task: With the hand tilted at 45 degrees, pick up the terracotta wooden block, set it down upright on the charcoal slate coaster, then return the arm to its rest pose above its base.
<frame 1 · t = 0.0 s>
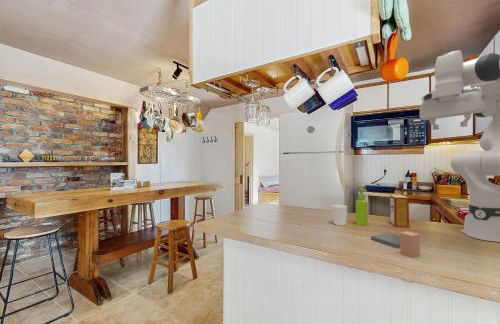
hand: (449, 128, 96), 48 cm above the table, tool pointing down, fingers open, 8 cm apart
slate coaster: (392, 241, 106), on the table
terracotta block: (409, 254, 91), on the table
soap dispenser: (361, 224, 134), on the table
baking soda box: (399, 225, 131), on the table
white cup: (339, 224, 135), on the table
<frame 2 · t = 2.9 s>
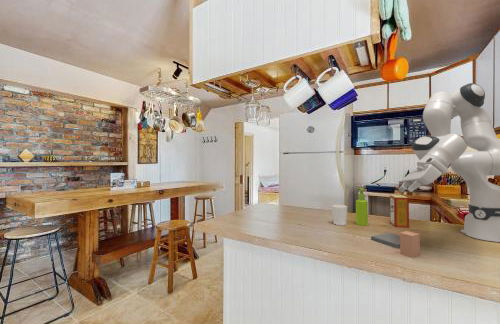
hand: (404, 190, 99), 23 cm above the table, tool tilted 45°, fingers open, 8 cm apart
nothing on the table moved.
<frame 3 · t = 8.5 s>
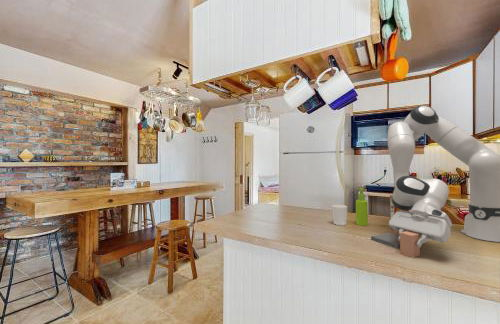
hand: (408, 243, 91), 4 cm above the table, tool tilted 45°, fingers closed on terracotta block, 4 cm apart
terracotta block: (409, 254, 91), on the table, touching gripper
everything else where it was.
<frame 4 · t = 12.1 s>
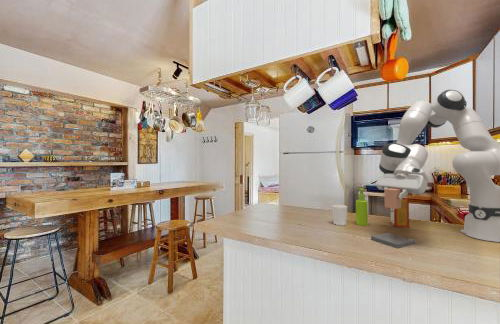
hand: (391, 197, 105), 19 cm above the table, tool tilted 45°, fingers closed on terracotta block, 4 cm apart
terracotta block: (392, 207, 105), point 15 cm above the table, touching gripper
everything else where it was.
when the fingers open (7 cm above the table, at t = 15.8 s): terracotta block drops 2 cm, resting on slate coaster.
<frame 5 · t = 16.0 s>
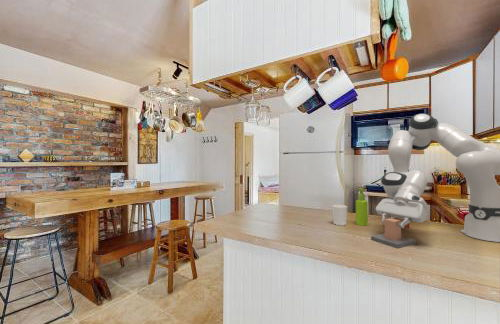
hand: (391, 224, 105), 7 cm above the table, tool tilted 45°, fingers open, 6 cm apart
terracotta block: (392, 238, 105), point 1 cm above the table, touching slate coaster
baking soda box: (399, 225, 131), on the table, touching arm
everything else where it was.
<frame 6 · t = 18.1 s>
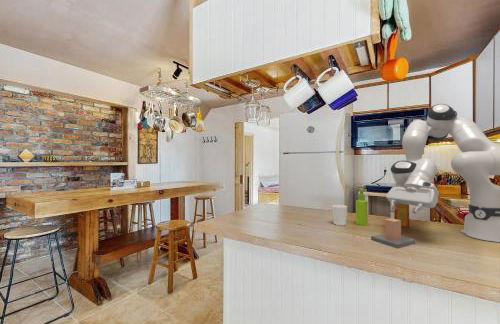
hand: (403, 210, 108), 13 cm above the table, tool tilted 45°, fingers open, 8 cm apart
baking soda box: (399, 225, 131), on the table
everything else where it was.
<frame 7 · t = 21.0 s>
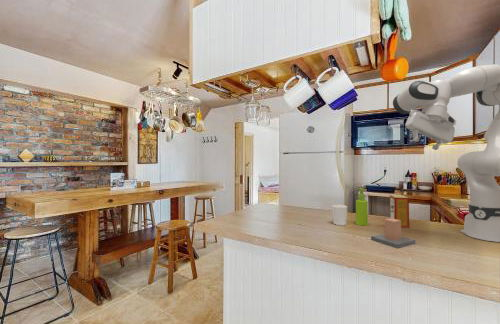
hand: (425, 145, 103), 42 cm above the table, tool tilted 25°, fingers open, 8 cm apart
nothing on the table moved.
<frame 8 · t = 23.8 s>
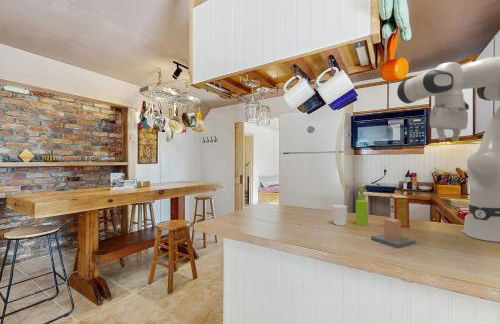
hand: (448, 140, 96), 43 cm above the table, tool pointing down, fingers open, 8 cm apart
nothing on the table moved.
at the end: terracotta block inside the target area on the slate coaster (0.1 cm from its centre), point 1.5 cm above the slate coaster's base; terracotta block tilted 0°; the gripper is holding nothing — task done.
